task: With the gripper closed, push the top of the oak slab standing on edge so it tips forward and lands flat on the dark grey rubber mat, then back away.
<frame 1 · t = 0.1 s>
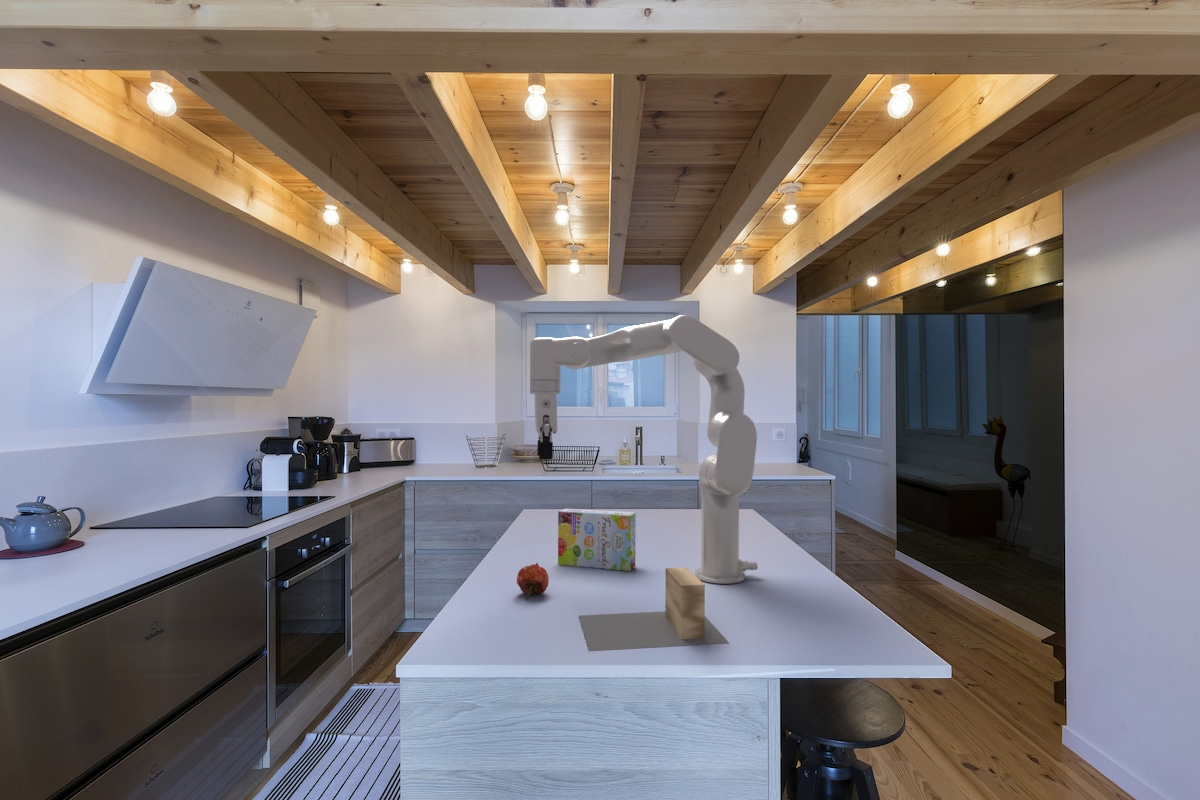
hand: (544, 457, 147), 31 cm above the countertop, tool pointing down, fingers open, 9 cm apart
snack box: (596, 566, 164), on the countertop
pomegranate: (532, 596, 138), on the countertop
slab: (684, 626, 118), resting on mat
mat: (649, 630, 117), on the countertop
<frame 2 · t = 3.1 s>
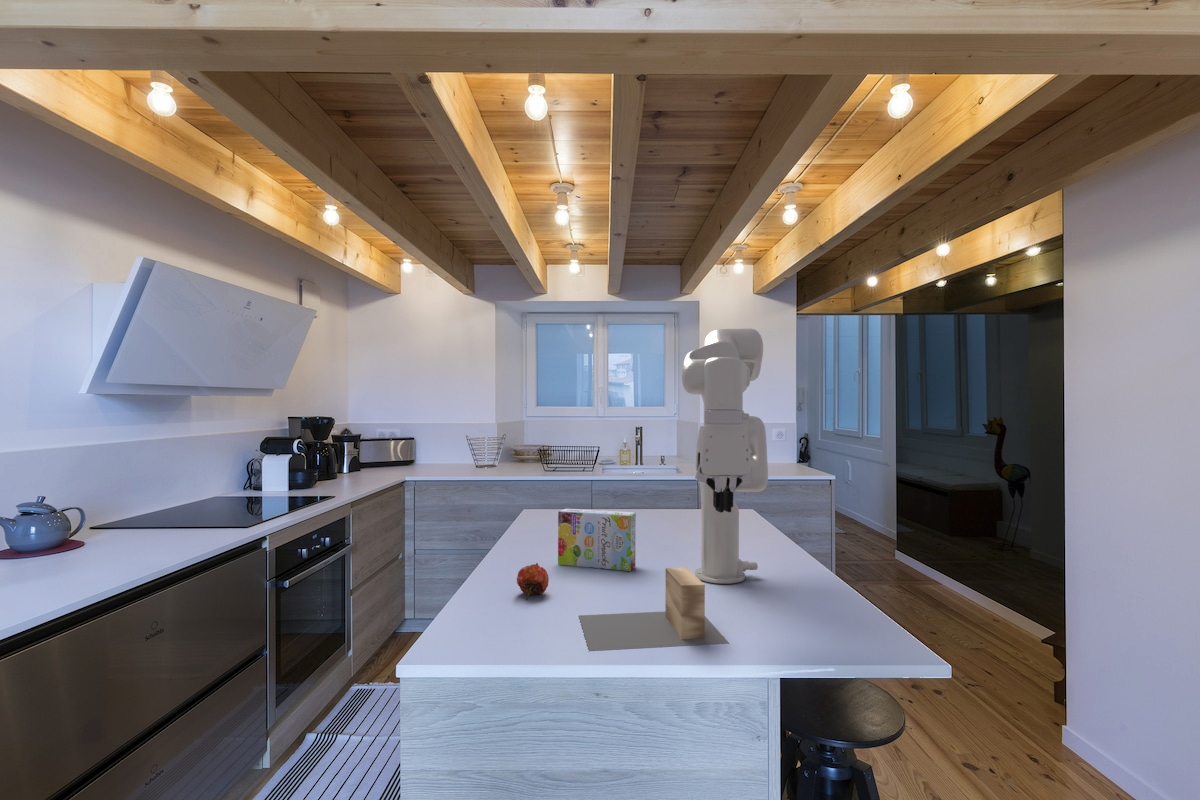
hand: (723, 510, 119), 23 cm above the countertop, tool pointing down, fingers closed
nothing on the countertop moved.
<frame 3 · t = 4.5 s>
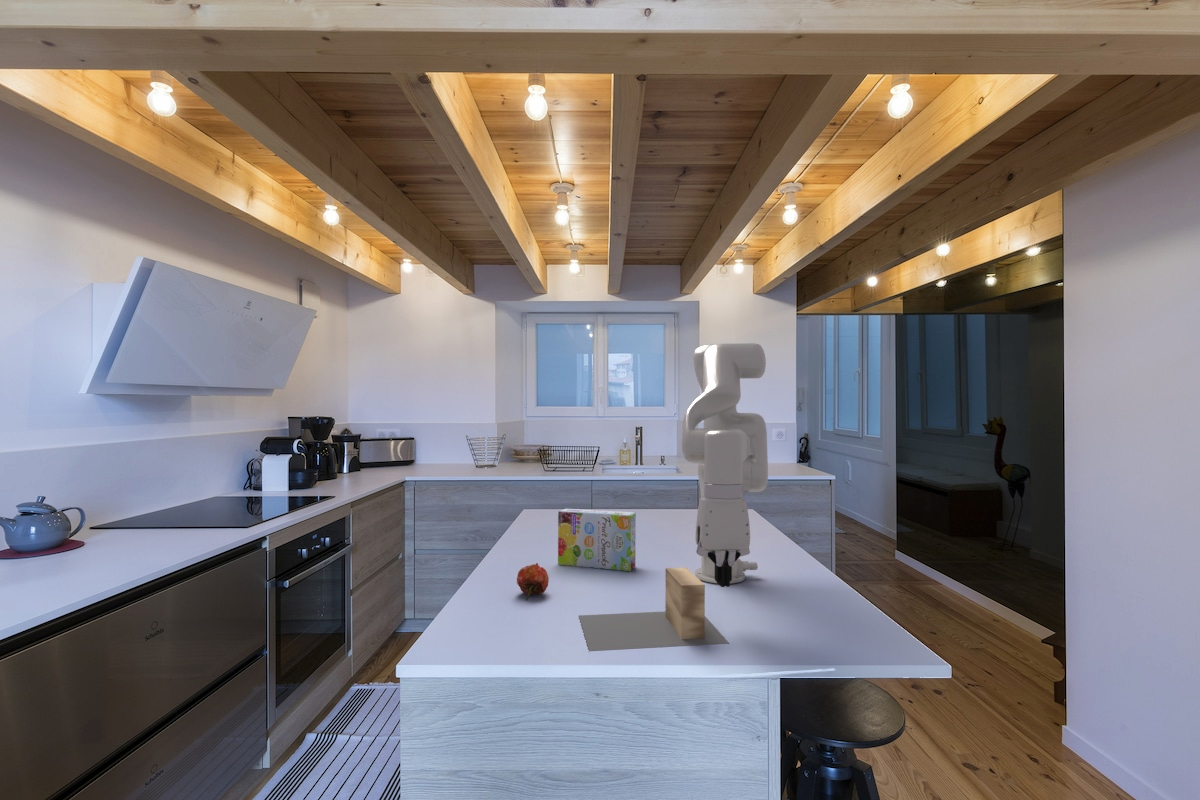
hand: (723, 584, 118), 9 cm above the countertop, tool pointing down, fingers closed
nothing on the countertop moved.
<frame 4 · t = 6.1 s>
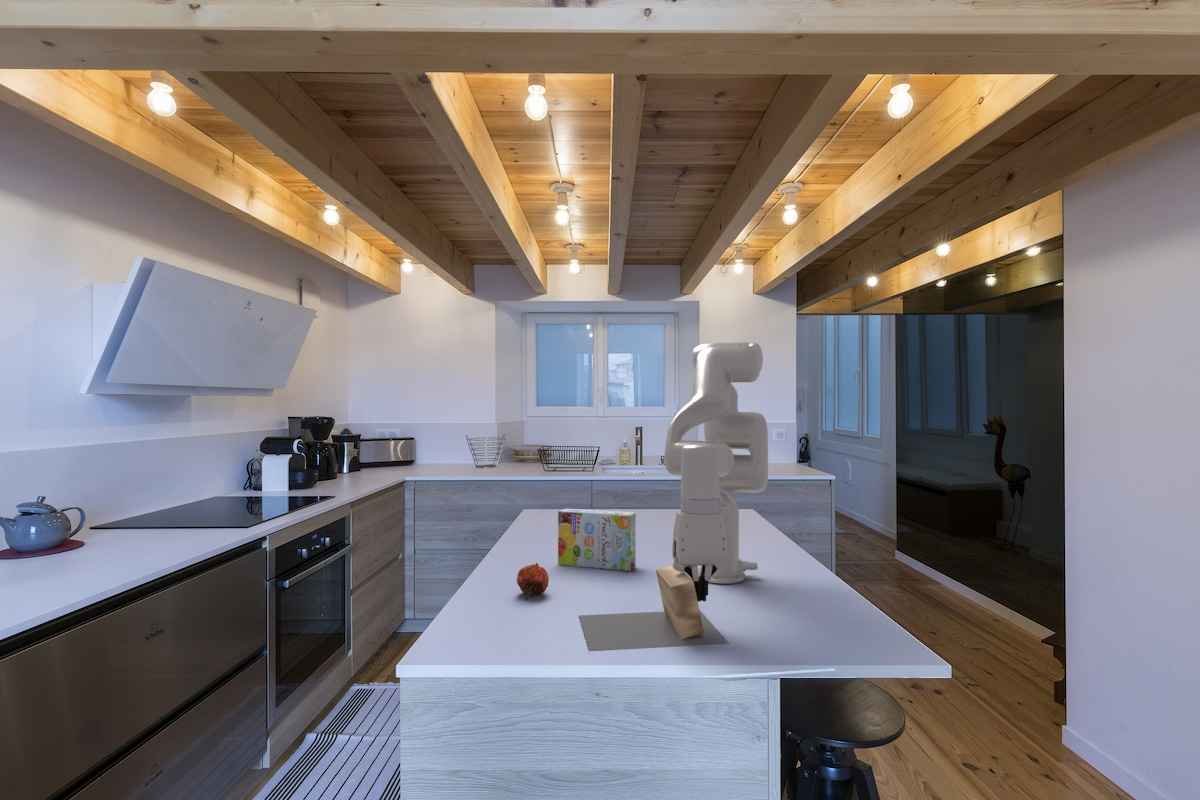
hand: (699, 599, 118), 6 cm above the countertop, tool pointing down, fingers closed
slab: (683, 624, 118), point 1 cm above the countertop, tilted 12°, touching mat
everything else where it was.
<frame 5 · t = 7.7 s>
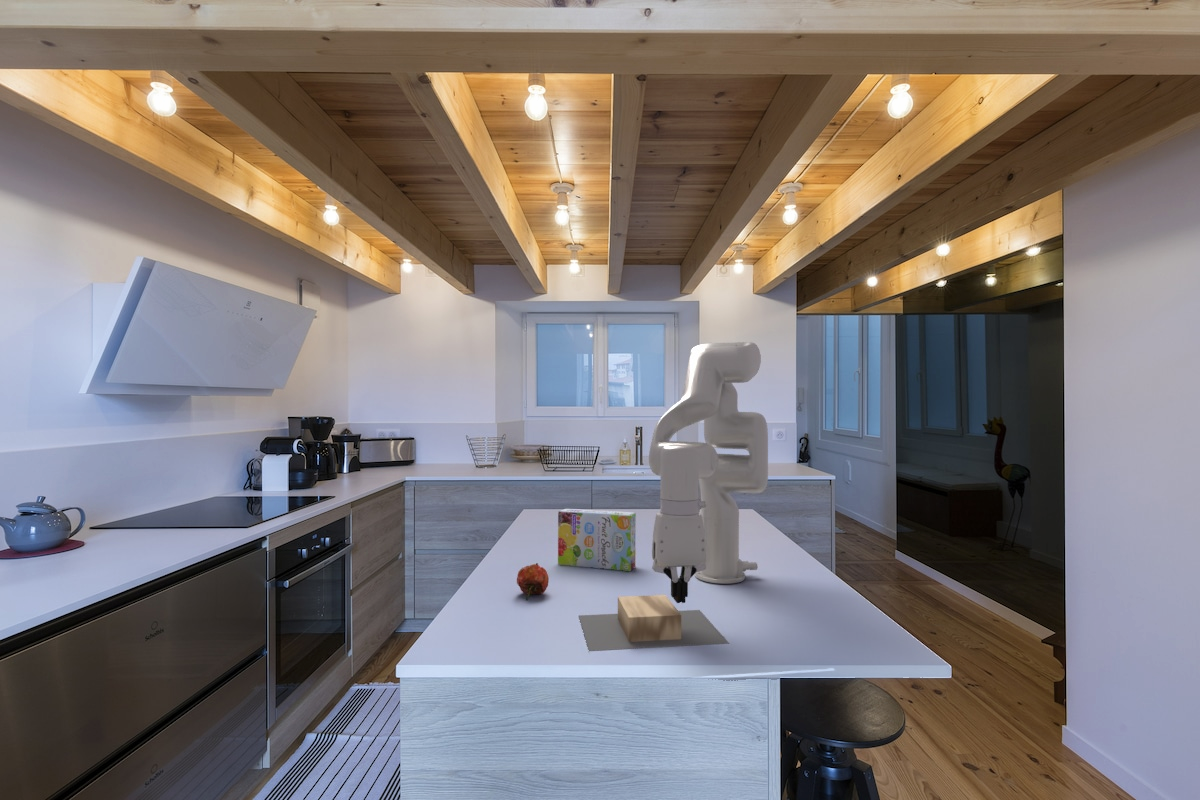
hand: (679, 600, 118), 6 cm above the countertop, tool pointing down, fingers closed
slab: (672, 615, 117), point 3 cm above the countertop, tilted 90°, touching mat
everything else where it was.
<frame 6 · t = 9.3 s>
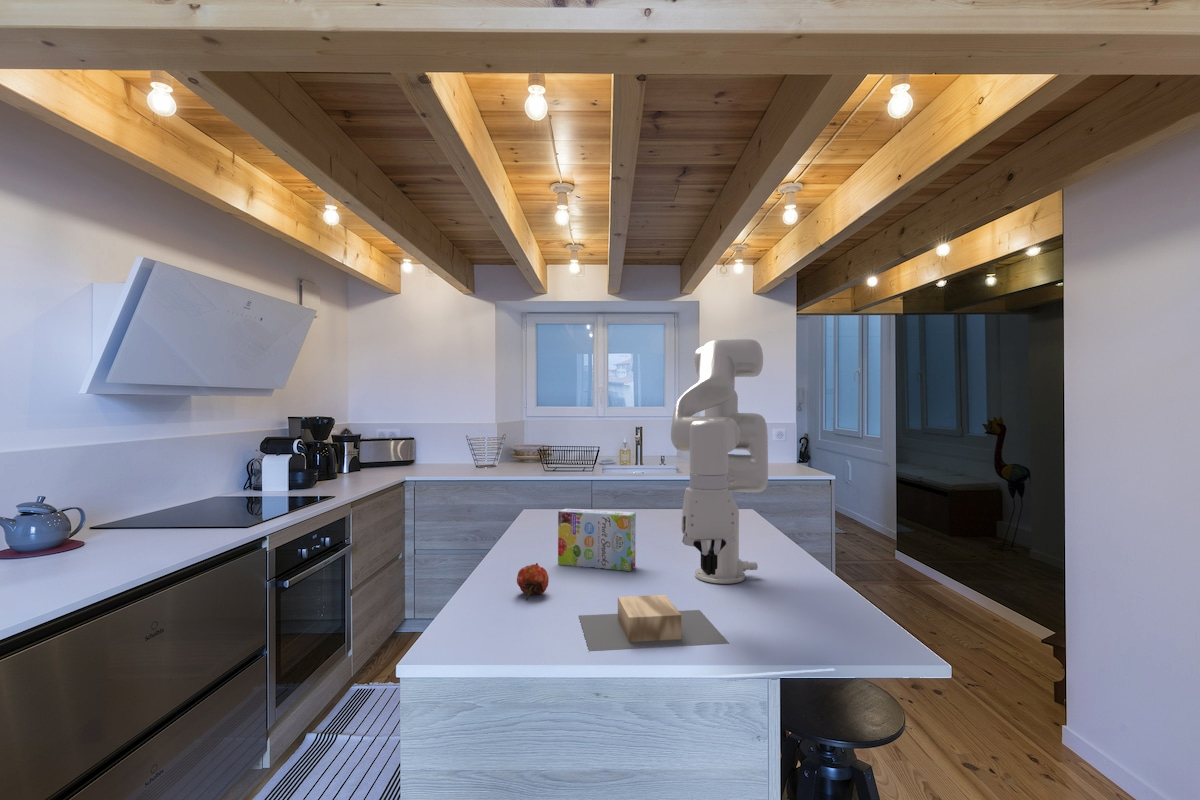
hand: (709, 572, 119), 11 cm above the countertop, tool pointing down, fingers closed
nothing on the countertop moved.
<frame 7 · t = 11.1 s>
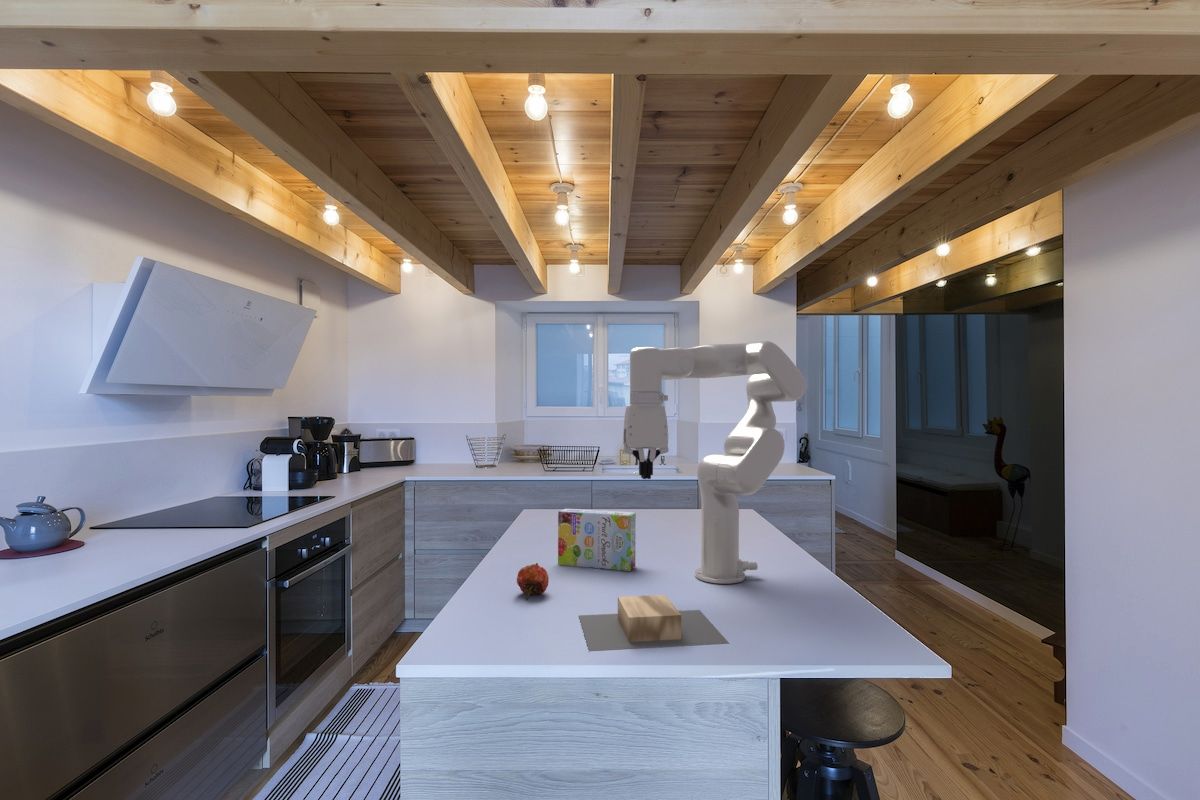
hand: (645, 478, 140), 27 cm above the countertop, tool pointing down, fingers closed
nothing on the countertop moved.
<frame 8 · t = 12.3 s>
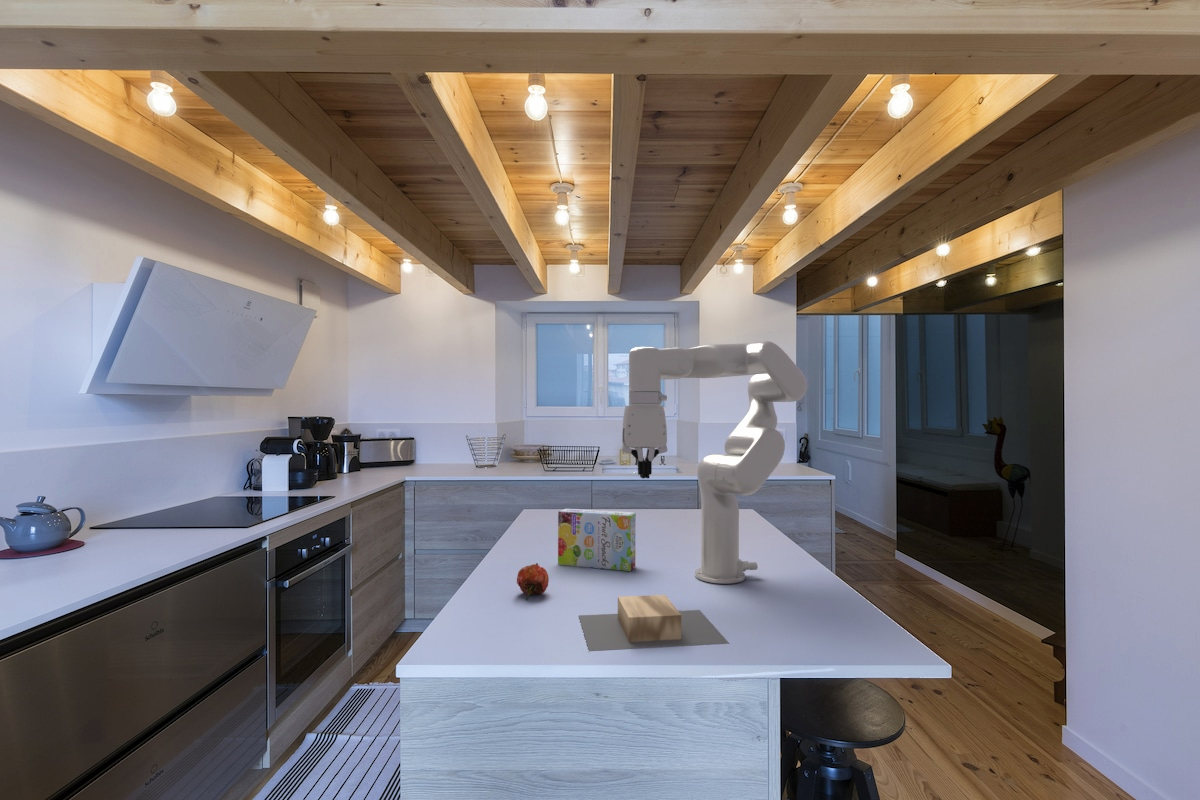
hand: (644, 477, 140), 27 cm above the countertop, tool pointing down, fingers closed
nothing on the countertop moved.
at the end: slab tilted 90°; slab inside the target area (4.7 cm from its centre), point 2.6 cm above the countertop; the gripper is holding nothing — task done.
